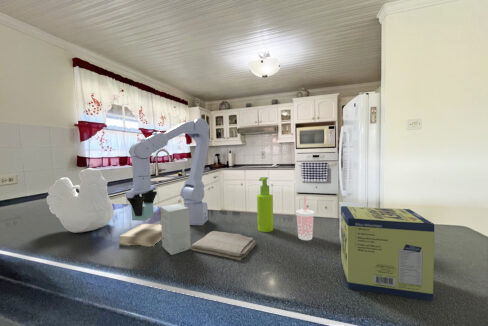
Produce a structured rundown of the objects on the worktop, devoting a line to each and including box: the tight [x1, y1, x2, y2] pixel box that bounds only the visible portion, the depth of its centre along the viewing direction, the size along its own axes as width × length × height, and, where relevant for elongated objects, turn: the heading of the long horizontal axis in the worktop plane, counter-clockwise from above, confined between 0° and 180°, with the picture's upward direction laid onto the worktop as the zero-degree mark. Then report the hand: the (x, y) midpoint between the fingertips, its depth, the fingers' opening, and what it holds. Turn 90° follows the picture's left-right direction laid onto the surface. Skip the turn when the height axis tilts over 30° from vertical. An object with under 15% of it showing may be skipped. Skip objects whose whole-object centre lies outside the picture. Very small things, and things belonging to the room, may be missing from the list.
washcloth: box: [190, 230, 257, 261], centre depth 67 cm, size 12×18×3 cm, turn 67°
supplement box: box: [338, 201, 367, 242], centre depth 67 cm, size 7×7×13 cm
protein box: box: [340, 206, 435, 302], centre depth 48 cm, size 10×16×16 cm
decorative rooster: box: [45, 167, 115, 234], centre depth 87 cm, size 25×16×25 cm, turn 75°
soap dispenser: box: [256, 176, 274, 233], centre depth 81 cm, size 6×7×20 cm
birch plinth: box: [118, 223, 162, 247], centre depth 76 cm, size 12×12×3 cm
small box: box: [160, 203, 192, 256], centre depth 67 cm, size 8×6×13 cm
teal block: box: [130, 202, 154, 222], centre depth 77 cm, size 5×5×5 cm
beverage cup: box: [295, 196, 315, 241], centre depth 73 cm, size 6×6×14 cm
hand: (143, 213), depth 77 cm, fingers closed on teal block, 5 cm apart
